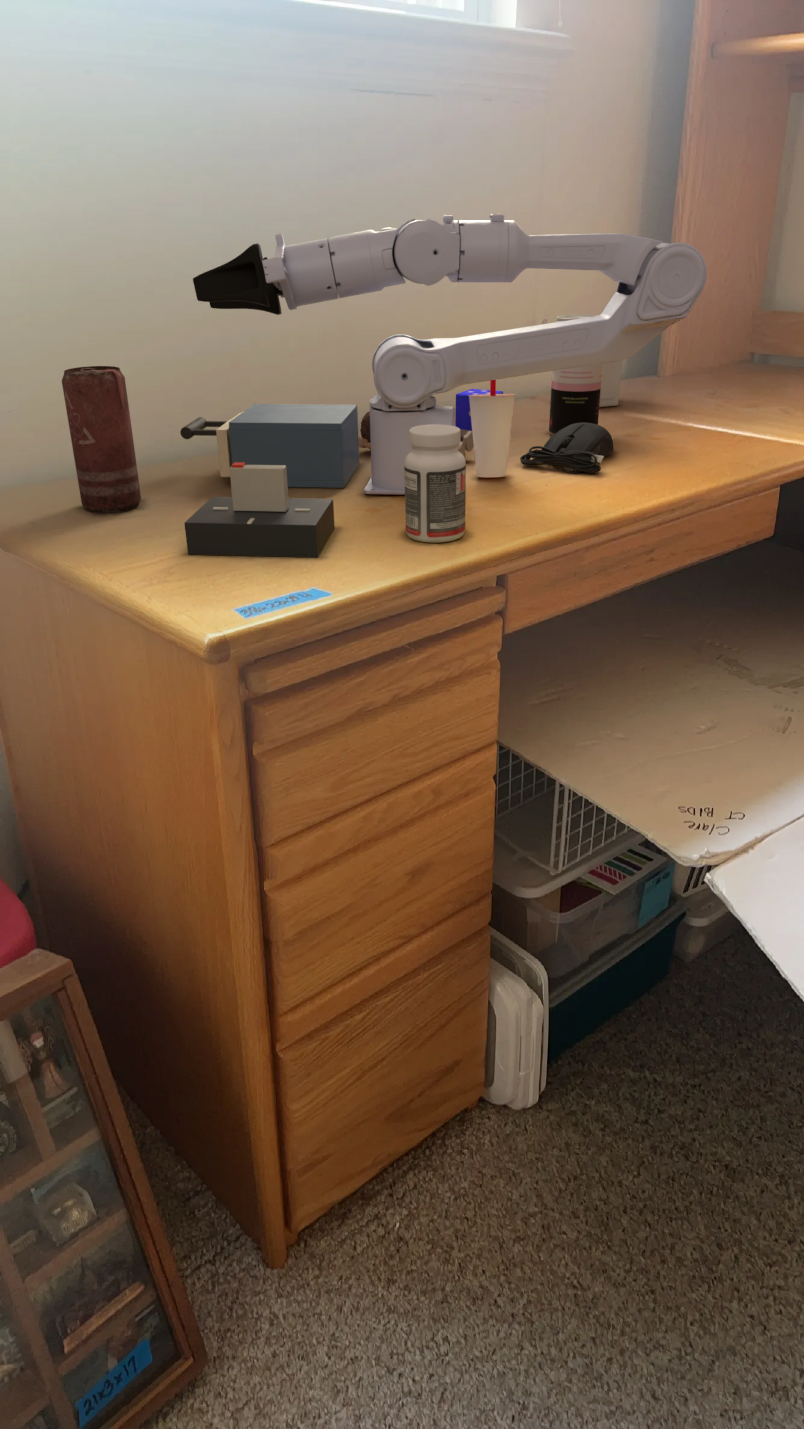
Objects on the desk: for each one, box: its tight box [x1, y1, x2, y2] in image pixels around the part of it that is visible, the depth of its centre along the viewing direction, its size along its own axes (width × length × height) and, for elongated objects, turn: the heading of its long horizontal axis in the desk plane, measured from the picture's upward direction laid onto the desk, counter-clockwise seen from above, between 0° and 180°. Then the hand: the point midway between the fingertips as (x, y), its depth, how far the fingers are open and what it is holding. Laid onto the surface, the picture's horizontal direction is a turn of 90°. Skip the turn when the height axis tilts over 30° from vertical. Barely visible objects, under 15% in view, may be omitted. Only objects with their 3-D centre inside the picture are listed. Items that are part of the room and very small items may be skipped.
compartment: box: [229, 403, 360, 489], centre depth 114 cm, size 13×12×7 cm
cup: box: [468, 380, 516, 478], centre depth 112 cm, size 5×5×12 cm
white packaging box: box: [599, 360, 623, 408], centre depth 152 cm, size 7×7×13 cm
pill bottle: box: [404, 424, 467, 544], centre depth 92 cm, size 6×6×10 cm
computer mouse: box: [519, 423, 615, 474], centre depth 121 cm, size 10×15×4 cm
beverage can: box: [548, 314, 603, 436], centre depth 131 cm, size 6×6×15 cm
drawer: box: [179, 412, 242, 478], centre depth 115 cm, size 16×10×5 cm, turn 84°
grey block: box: [229, 462, 289, 512], centre depth 91 cm, size 5×1×4 cm, turn 84°
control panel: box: [183, 496, 335, 558], centre depth 92 cm, size 12×9×3 cm
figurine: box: [358, 410, 474, 459], centre depth 125 cm, size 8×5×15 cm
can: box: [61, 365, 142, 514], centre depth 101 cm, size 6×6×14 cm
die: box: [455, 388, 504, 431], centre depth 138 cm, size 5×5×5 cm
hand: (202, 293), depth 100 cm, fingers open, 7 cm apart
